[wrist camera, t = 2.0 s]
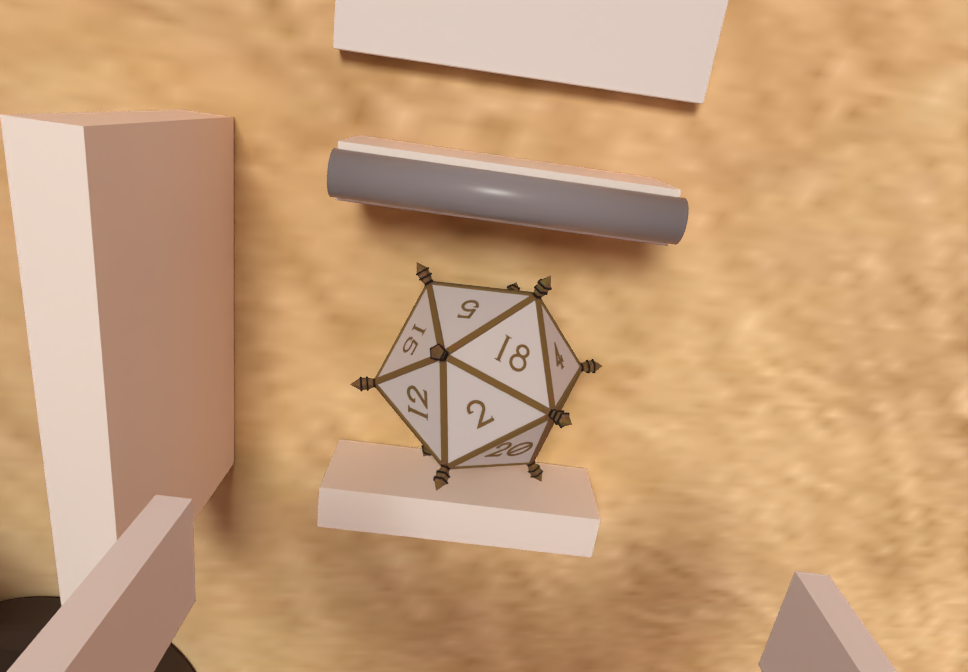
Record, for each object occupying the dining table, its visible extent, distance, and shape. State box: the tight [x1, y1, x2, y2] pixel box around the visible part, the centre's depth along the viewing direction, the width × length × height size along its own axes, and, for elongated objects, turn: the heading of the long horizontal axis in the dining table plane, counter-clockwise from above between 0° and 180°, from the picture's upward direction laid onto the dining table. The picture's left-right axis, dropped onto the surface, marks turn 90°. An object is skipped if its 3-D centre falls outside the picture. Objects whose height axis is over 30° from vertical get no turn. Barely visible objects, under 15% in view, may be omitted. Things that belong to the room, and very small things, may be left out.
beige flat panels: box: [0, 109, 688, 606], centre depth 23 cm, size 16×19×10 cm
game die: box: [350, 263, 602, 491], centre depth 25 cm, size 9×8×10 cm
